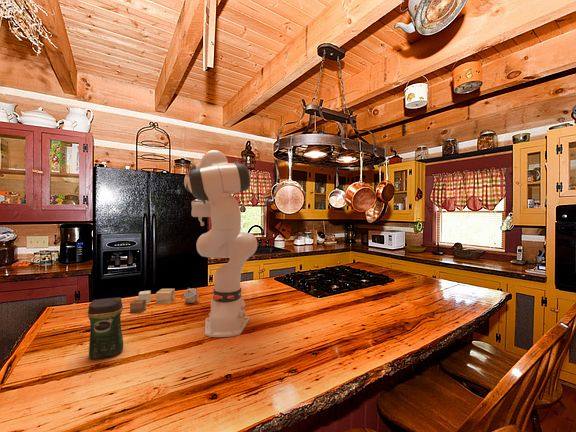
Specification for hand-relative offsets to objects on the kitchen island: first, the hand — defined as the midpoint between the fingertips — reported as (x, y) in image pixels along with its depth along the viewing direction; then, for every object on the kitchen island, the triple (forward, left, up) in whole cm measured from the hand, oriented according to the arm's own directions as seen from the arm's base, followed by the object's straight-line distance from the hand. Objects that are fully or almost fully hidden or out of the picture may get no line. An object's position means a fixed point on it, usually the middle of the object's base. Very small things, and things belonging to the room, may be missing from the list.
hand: (211, 225), depth 142 cm
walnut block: (-12, +32, -40) cm, 53 cm away
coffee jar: (-50, +25, -41) cm, 69 cm away
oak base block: (+1, +24, -40) cm, 47 cm away
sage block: (+2, +35, -40) cm, 53 cm away
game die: (-2, +10, -41) cm, 42 cm away
